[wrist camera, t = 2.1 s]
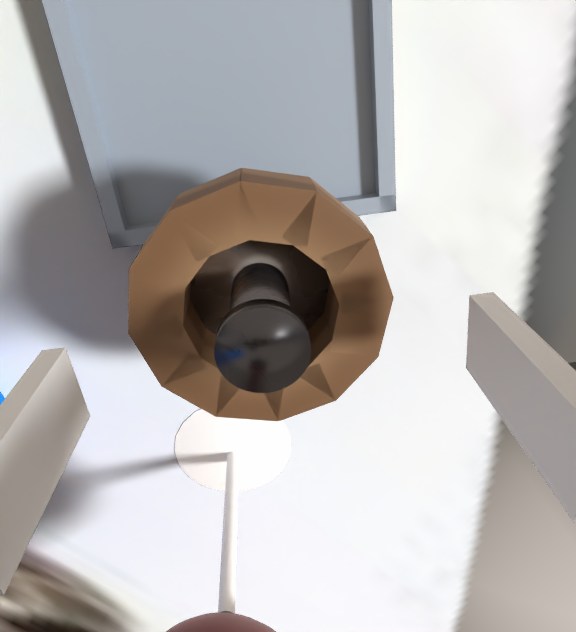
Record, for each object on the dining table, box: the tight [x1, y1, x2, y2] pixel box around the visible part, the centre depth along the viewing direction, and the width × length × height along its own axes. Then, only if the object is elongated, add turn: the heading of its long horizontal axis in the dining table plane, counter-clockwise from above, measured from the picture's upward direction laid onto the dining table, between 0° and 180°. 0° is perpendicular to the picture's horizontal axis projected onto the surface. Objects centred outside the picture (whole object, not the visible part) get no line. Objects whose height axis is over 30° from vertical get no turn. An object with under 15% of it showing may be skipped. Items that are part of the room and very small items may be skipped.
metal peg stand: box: [190, 240, 330, 393], centre depth 22 cm, size 7×7×11 cm
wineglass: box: [166, 409, 291, 632], centre depth 24 cm, size 8×9×20 cm
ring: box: [128, 168, 393, 421], centre depth 20 cm, size 10×10×2 cm
